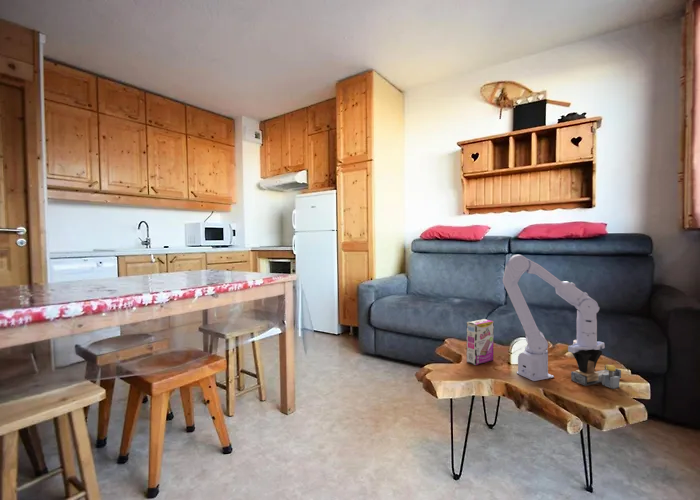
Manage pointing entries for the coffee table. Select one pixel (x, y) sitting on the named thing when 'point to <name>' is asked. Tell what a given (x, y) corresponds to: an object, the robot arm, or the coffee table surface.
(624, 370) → the coffee table surface
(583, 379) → the rail
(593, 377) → the carriage
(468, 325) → the candy bar box
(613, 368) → the gauge button
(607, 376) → the post
